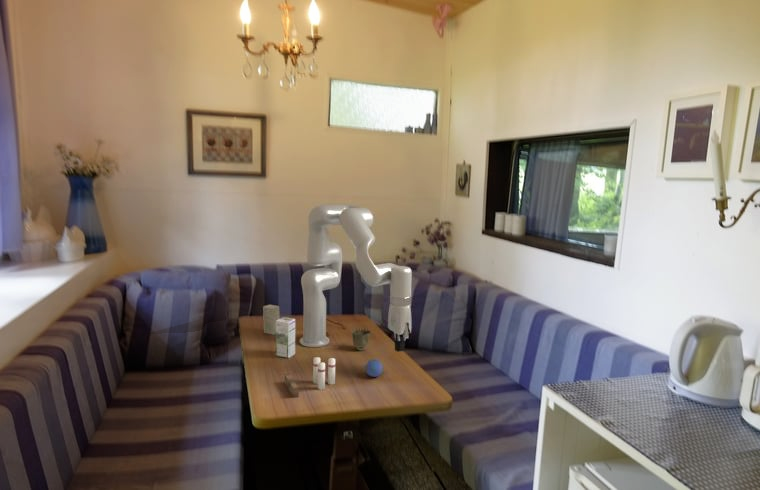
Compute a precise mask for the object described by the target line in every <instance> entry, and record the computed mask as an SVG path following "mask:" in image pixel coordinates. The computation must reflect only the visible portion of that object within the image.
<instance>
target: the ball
mask: <svg viewBox="0 0 760 490" xmlns="http://www.w3.org/2000/svg"><path fill="white" fill-rule="evenodd" d="M365 372H366V374H367V375H368V376H369V377H373V378H376V377H378V376H380V375H381V374H382V372H383V364H382V363H381V361H380V360H378V359H371V360H369V361H367V363H366V365H365Z"/></svg>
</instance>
